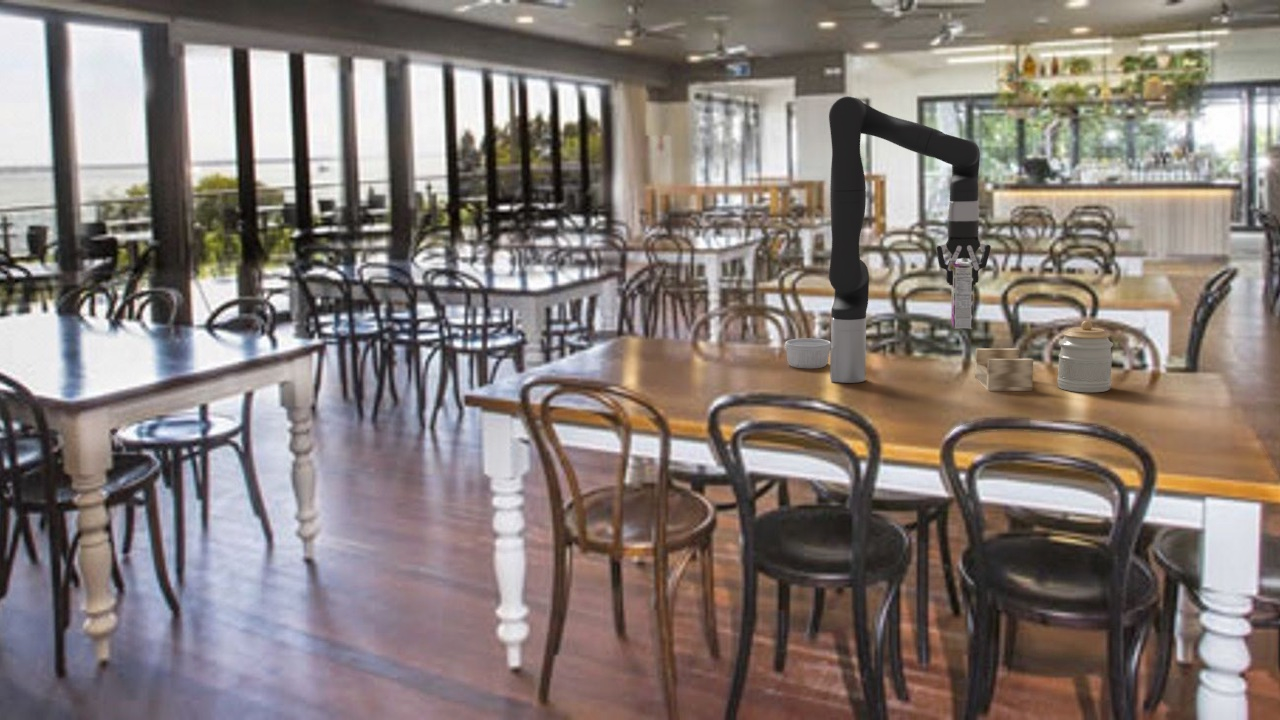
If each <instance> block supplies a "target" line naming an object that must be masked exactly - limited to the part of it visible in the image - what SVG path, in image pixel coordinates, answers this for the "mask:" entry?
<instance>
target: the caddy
mask: <svg viewBox="0 0 1280 720" xmlns="http://www.w3.org/2000/svg"><path fill="white" fill-rule="evenodd" d="M974 363H975V366H974V367H975V369H974V372H975V373H974V379H976V380H977V381H978V382H979V383H980V384H981V385H982V386H983V387H984V388H985V389H986V391H988V392H990V391H991V392H997V391H998V392H1001V391H1002V392H1003V391H1004V392H1010V391H1011V392H1017V391H1018V392H1022V391H1023V392H1024V391H1025V392H1028V391H1030V392H1031V391H1033V381H1034V380H1033V377H1034V376H1033V375H1034V359H1033V358H1020V348H1017V347H1016V348H1014V347H1013V348H1012V347H1011V348H1008V347H1007V348H1006V347H1005V348H1001V347H1000V348H990V347H989V348H980V347H979V348H975V362H974Z"/></svg>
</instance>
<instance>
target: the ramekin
mask: <svg viewBox="0 0 1280 720" xmlns="http://www.w3.org/2000/svg"><path fill="white" fill-rule="evenodd" d="M784 345H785V349H786V350H785V351H786V359H787V363H788V364H789V366H791V367H793V368H798V369H819V368H823V367H826V365H828V362H829V359H830V358H829V357H830V345H831V341H830V340H827V339H821V338H794V339H789V340H786V341H785V344H784Z"/></svg>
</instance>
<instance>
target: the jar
mask: <svg viewBox="0 0 1280 720" xmlns="http://www.w3.org/2000/svg"><path fill="white" fill-rule="evenodd" d="M1062 335H1063V336H1064V337H1063V339H1061V340H1059V342H1058V344H1059V345H1060V352H1059V354H1058V355H1057V356H1058V370H1057V371H1058V375H1057V378H1056V381H1057V386H1058V388H1059V389H1061V390H1063V391H1064V390H1065V391H1070V392H1076V393H1102V392H1103V393H1104V392H1107V391H1109V390H1110V389H1111V385H1112V363H1113V361H1112V360H1113V355H1112V353H1111V352H1112V351H1111V348H1112V347H1113V346H1114V343H1113V342H1112V341H1110V339H1109V337H1111V334H1110V333H1109V332H1107V331H1105V329H1103V328H1099V327H1093V323H1092V321H1090V320H1083V321H1082V322H1081V325H1080V326H1078V327H1077V326H1076V327H1070V328H1068V330H1065V331H1064V332H1063V333H1062Z"/></svg>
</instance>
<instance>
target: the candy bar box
mask: <svg viewBox="0 0 1280 720" xmlns="http://www.w3.org/2000/svg"><path fill="white" fill-rule="evenodd" d="M952 271H953V285H951V313H950V314H951V319H950V320H951V325H952V327H953V330H973V317H974V316H973V315H974V314H973V310H974V309H973V307H974V305H973V304H974V302H973V301H974V285H973V266H972V264H971V262H970V261H956V262H955V264H954V266H953V269H952Z"/></svg>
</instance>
